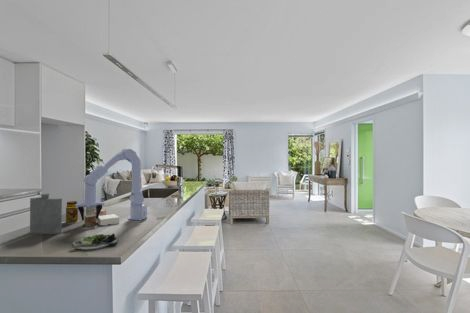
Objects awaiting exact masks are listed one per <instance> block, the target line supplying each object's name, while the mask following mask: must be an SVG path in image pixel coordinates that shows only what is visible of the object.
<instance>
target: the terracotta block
mask: <svg viewBox="0 0 470 313" xmlns="http://www.w3.org/2000/svg"><path fill="white" fill-rule="evenodd" d="M94 215H95V216H96V210H95V211H94ZM103 215H107V208H105V209H103V208H102V209H101V211H100V213H99V216H103Z"/></svg>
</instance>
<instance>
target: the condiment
mask: <svg viewBox="0 0 470 313" xmlns="http://www.w3.org/2000/svg"><path fill="white" fill-rule="evenodd" d="M76 204H78V201H76V200H75V201H74V200H73V201H72V200H70V201H67V202H66V207H65V208H66V209H65V220H64V221H62V224H76V223H78V222H81V221H82V219H81V220H79V210H78V208H76Z"/></svg>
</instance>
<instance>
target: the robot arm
mask: <svg viewBox="0 0 470 313" xmlns="http://www.w3.org/2000/svg"><path fill="white" fill-rule="evenodd" d="M124 160H126V161H128V162H129V163H130V164H131V190H130V195H129V201H130V210H129V212H130V217H128V218H127V220H131V221H132V220H133V221H134V220H135V221H142V220H145V219H147V218H148V207H147V205H146V204H144V202H145V197H144V195H143V191H142V187H141V186H142V181H141V178H142V177H141V174H142V173H141V171H142V169H141V164H142V163H141V160H140V157H139V156H138V154H137V152H136V151H135V150H133V149H131V148H123V149H122V150H121V151H118V152H117V153H116V154H114V156H112V157H111V158H110V159H109V160H108V161H107V162H106V163H104V164H100V165H96V168H95V169H94V170H92V171H90V172H89V174H87V175H85V176H84V178H83V181H84V183H85V184H84V202H83V203H77V204H76V208H78V213H79V214H80V217H81V221H85V215H84V214H85V208H91V207H95V211H96V220H97V219H98V217H99V213H100V211H101V209H103V206H105V202H104V201H100V202H99V201H96V200H97V183H98V181H99V180H100V179H102V177H104V176H105V175H106V174H108V170H109V169H110V168H111V167H112V166H114V165H116V164H117V163H118V162H119V161H124Z"/></svg>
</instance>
